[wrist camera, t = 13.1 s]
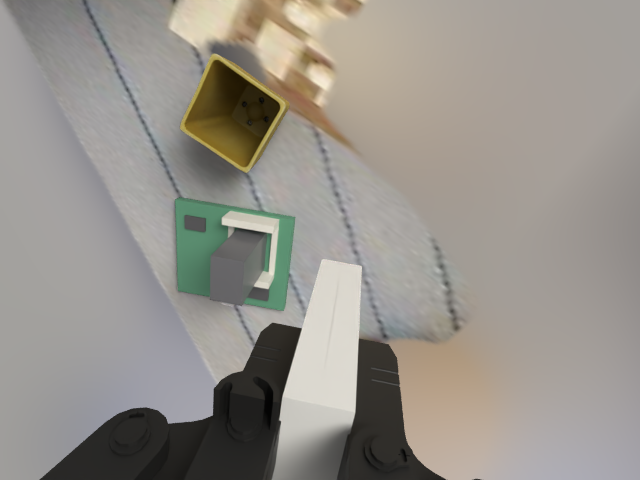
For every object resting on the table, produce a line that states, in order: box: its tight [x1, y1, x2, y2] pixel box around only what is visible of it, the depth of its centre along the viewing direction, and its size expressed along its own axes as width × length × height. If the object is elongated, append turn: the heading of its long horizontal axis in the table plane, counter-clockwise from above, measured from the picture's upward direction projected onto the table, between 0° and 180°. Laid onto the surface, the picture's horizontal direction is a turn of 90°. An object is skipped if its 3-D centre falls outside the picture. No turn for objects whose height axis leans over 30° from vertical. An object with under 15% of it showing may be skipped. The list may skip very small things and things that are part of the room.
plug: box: [210, 228, 267, 306], centre depth 46 cm, size 7×4×10 cm, turn 172°
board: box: [175, 197, 295, 311], centre depth 51 cm, size 15×17×4 cm
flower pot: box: [180, 54, 289, 173], centre depth 41 cm, size 9×9×9 cm
